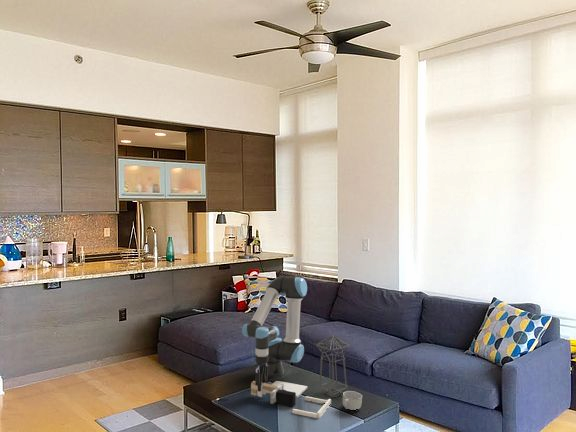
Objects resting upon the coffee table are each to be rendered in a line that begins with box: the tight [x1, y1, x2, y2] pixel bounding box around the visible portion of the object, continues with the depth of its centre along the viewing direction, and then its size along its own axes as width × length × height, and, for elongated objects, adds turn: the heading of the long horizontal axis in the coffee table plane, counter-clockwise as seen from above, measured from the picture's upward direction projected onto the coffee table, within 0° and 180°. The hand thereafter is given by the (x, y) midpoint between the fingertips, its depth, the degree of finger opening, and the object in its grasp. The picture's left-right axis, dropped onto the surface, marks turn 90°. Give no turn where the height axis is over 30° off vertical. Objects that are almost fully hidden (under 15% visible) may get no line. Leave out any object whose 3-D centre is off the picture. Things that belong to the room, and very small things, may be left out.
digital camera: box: [275, 389, 297, 408], centre depth 272 cm, size 10×5×7 cm, turn 66°
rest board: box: [271, 380, 308, 399], centre depth 293 cm, size 16×21×1 cm
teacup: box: [342, 390, 363, 411], centre depth 266 cm, size 14×11×8 cm
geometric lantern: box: [315, 335, 351, 397], centre depth 286 cm, size 16×16×35 cm
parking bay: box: [292, 395, 332, 419], centre depth 267 cm, size 19×15×3 cm
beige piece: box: [250, 380, 284, 405], centre depth 278 cm, size 14×17×7 cm
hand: (261, 395), depth 279 cm, fingers closed on beige piece, 3 cm apart
